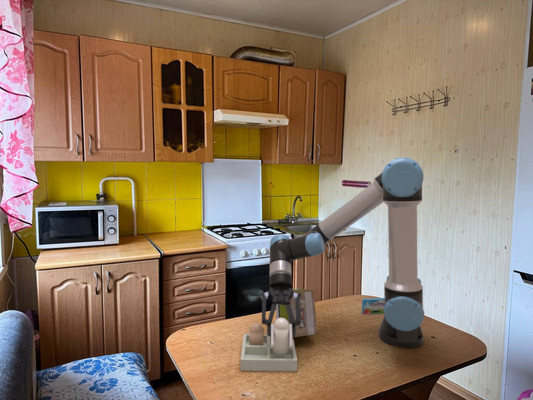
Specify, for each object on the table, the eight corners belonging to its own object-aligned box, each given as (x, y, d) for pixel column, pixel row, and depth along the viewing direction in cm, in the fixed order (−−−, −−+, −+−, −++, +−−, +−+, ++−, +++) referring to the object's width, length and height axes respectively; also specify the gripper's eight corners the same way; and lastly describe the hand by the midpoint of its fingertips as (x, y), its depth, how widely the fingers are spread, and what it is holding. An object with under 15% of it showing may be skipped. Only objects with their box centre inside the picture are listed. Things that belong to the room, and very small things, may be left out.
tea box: (301, 328, 142) (318, 335, 128) (276, 331, 139) (291, 338, 125) (298, 287, 144) (314, 290, 130) (273, 290, 141) (288, 292, 127)
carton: (292, 344, 129) (293, 318, 128) (296, 371, 112) (297, 341, 111) (243, 343, 129) (243, 317, 128) (240, 370, 112) (240, 340, 111)
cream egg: (288, 347, 119) (289, 315, 118) (289, 355, 114) (290, 322, 113) (272, 346, 119) (273, 314, 118) (272, 354, 114) (273, 321, 113)
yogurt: (388, 311, 159) (389, 297, 159) (390, 313, 158) (390, 299, 157) (361, 313, 158) (362, 298, 157) (363, 314, 156) (363, 300, 155)
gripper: (305, 282, 130) (310, 351, 115) (254, 281, 130) (251, 350, 115) (308, 272, 124) (312, 343, 109) (254, 271, 124) (251, 342, 109)
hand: (281, 346), depth 112 cm, fingers closed on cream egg, 5 cm apart
